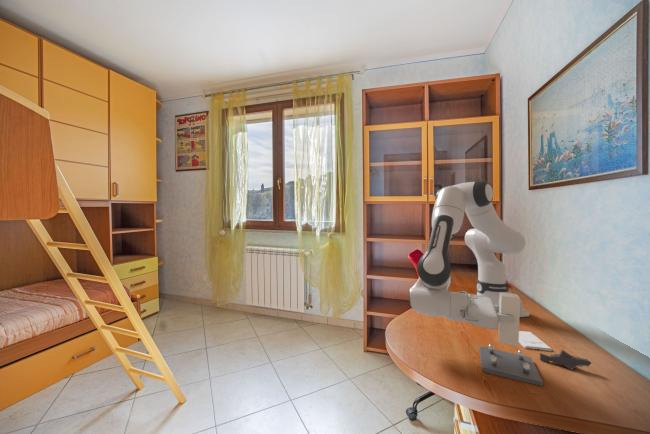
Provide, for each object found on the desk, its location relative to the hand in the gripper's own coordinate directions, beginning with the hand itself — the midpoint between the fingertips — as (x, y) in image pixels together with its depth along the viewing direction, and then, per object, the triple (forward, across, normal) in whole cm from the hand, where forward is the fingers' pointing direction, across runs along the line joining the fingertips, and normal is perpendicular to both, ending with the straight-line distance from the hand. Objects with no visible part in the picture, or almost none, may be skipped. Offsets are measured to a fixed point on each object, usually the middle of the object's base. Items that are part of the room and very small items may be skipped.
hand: (512, 315), depth 80 cm
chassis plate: (-1, 0, +16) cm, 16 cm away
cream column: (-1, 0, +8) cm, 8 cm away
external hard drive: (+8, +23, +16) cm, 29 cm away
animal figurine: (+15, +9, +16) cm, 23 cm away
